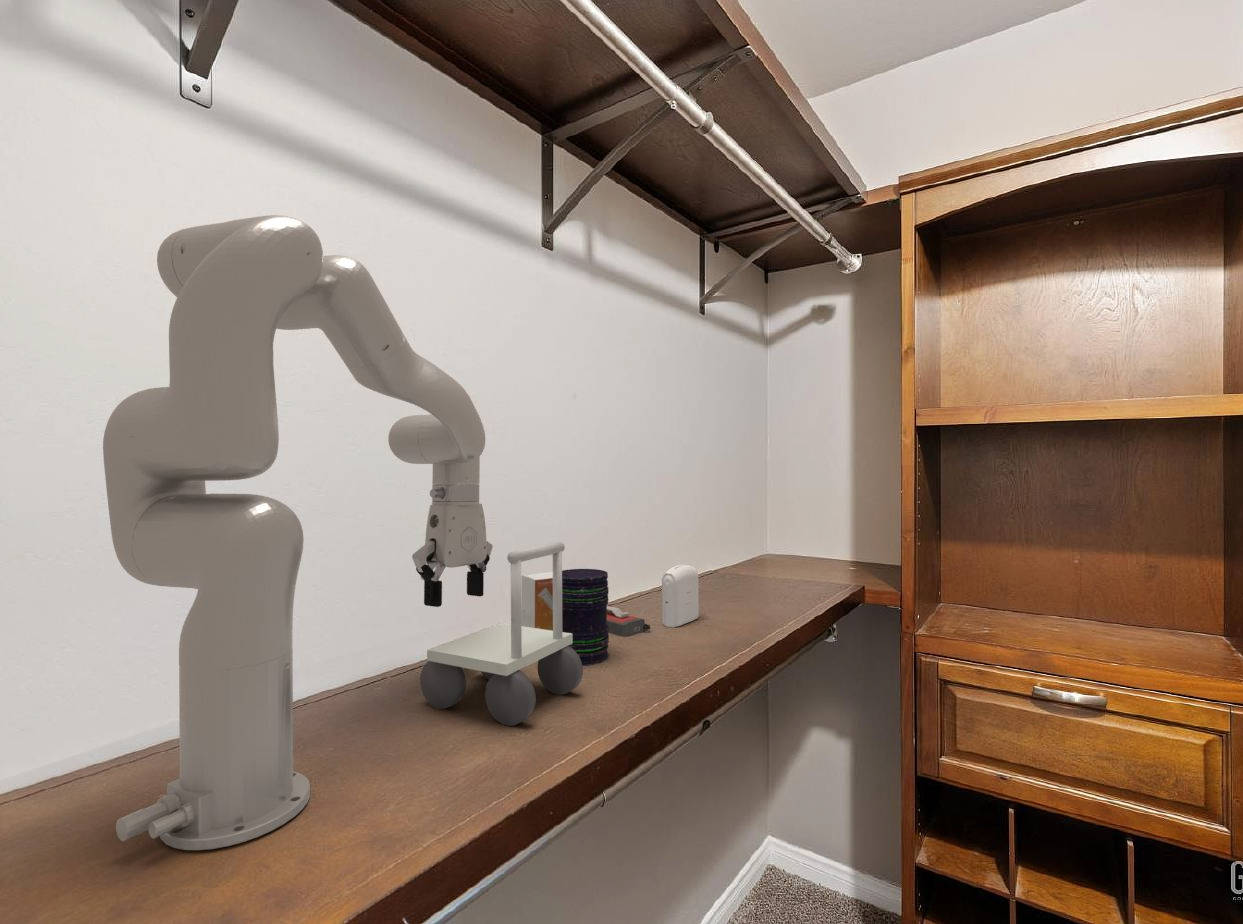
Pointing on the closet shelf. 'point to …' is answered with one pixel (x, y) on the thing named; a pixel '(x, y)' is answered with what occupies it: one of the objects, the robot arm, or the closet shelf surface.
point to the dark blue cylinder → (586, 613)
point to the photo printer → (680, 595)
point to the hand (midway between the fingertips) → (454, 600)
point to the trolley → (507, 654)
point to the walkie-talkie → (624, 623)
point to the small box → (537, 601)
